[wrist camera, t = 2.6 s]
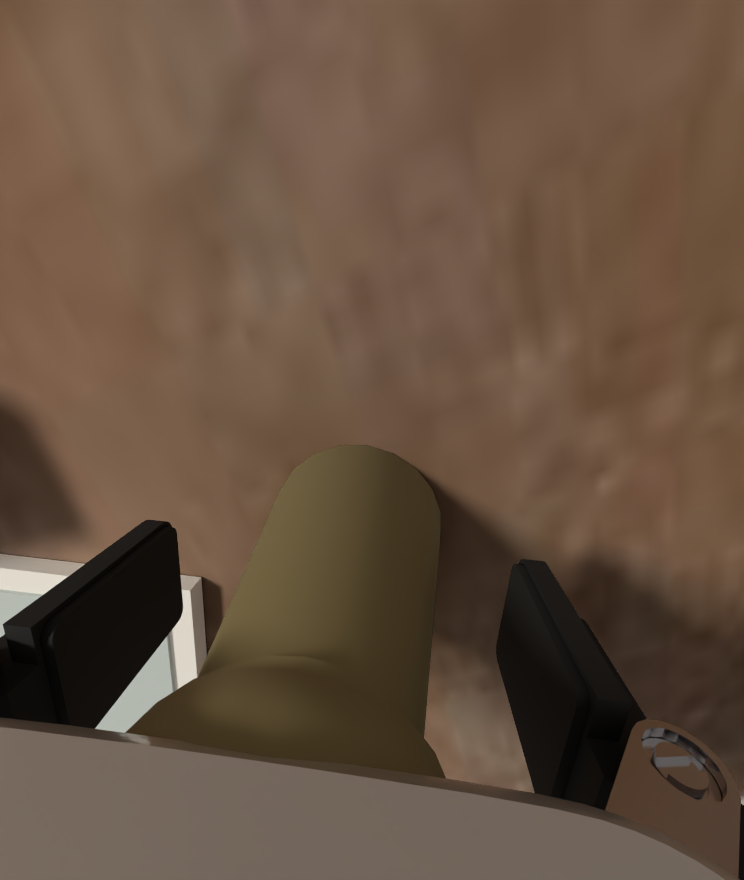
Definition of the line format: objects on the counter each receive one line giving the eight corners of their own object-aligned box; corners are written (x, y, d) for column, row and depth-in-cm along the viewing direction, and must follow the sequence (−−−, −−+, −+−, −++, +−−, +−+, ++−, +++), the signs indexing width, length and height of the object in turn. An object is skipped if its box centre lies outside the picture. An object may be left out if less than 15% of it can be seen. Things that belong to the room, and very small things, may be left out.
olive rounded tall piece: (452, 586, 14) (594, 1366, 3) (297, 603, 15) (30, 1274, 4) (427, 430, 12) (544, 983, 2) (255, 459, 13) (-327, 955, 3)
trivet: (201, 577, 15) (188, 593, 14) (216, 789, 18) (206, 813, 17) (-79, 544, 16) (-109, 557, 15) (-15, 754, 19) (-36, 775, 18)
